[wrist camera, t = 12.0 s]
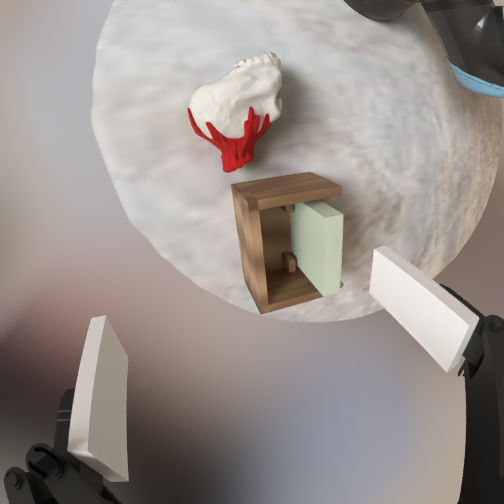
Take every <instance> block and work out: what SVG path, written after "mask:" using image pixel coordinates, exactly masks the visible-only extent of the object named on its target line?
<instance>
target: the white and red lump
mask: <svg viewBox="0 0 504 504" xmlns="http://www.w3.org/2000/svg"><path fill="white" fill-rule="evenodd" d="M280 64H281V62H280V60H279V59H278V58H277V57H276V55H275V53H272V52H269V54H263V55H262V54H260V55H259V56H254V57H253V59H252V58H248V59H247V60H246V61H245V60H242V61H240V62H236V64H235V66H234V67H235V68H234V69H233V71H232V72H231V73H230V74H229V75H228V76H226V77H225V78H223V79H221V80H219V81H216V82H214V83H210V84H206V85H203V86H201V87H200V88H199V89H198V90H197V91H196V92H195V94H194V95H193V96H192V98H191V101H190V109H189V108H187V109H188V114H189V118H190V122H191V125H192V127H193V129H194V131H195V133H196V134H197V135H199V136H201V137H203V138H204V139H206V140H208V141H209V142H211V143H212V144H213V145H215V146H216V147H217V148H219V149H220V150H221V152H222V156H221V158H222V162H223V171H224V172H228V173H229V172H232V171H235V170H236V169H237V168H241V167H242V166H243V165H244V164H245V163H249V162H251V161H252V159H253V149H254V145H255V143H256V141H257V140H258V139H259V138H260V137H261V136H262V135H263V134H264V133H265V132H266V131H267V129H268V128H269V126H270V125H271V123H272V121H274V120H276V119H278V118H279V116H280V115H281V111H282V99H281V98H276V96H277V94H278V91H279V90H280V88H281V87H282V72H281V71H280Z"/></svg>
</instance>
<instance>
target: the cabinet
mask: <svg viewBox="0 0 504 504" xmlns="http://www.w3.org/2000/svg"><path fill="white" fill-rule="evenodd" d="M231 187H232V194H233V202H234V209H235V216H236V223H237V230H238V238H239V245H240V252H241V259H242V266H243V273H244V279H245V283H246V285H247V287H248V289H249V291H250V293H251V295H252V297H253V299H254V301H255V303H256V305H257V308H258V310H259V312H260V314H265V313H268V312H272V311H276V310H279V309H283V308H286V307H290V306H293V305H297V304H300V303H304V302H307V301H311V300H314V299H317V298H321V297H323V296H322V294H321V293H320V292H319V291H318V290H317V288H316V287H315V286H314V285H313V284H312V282H311V281H310V280H309V279H308V278H307V276H306V275H305V274H304V273H303V272H302V270H301V269H300V268H299V267H298V266H297V264H296V263H295V259H294V258H293V256H292V250H291V231H290V214H289V212H293V204H295V203H301V202H306V201H312V200H318V199H319V200H321V201H323V199H324V198H330V197H336V196H341V186H339V185H337V184H335V183H333V182H331V181H328V180H326V179H324V178H322V177H319V176H317V175H315V174H313V173H310V172H307V173H300V174H293V175H286V176H279V177H273V178H266V179H260V180H254V181H248V182H243V183H237V184H231ZM342 286H343V283H342V282H341V281H340V288H341V287H342Z"/></svg>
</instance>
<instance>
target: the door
mask: <svg viewBox="0 0 504 504" xmlns="http://www.w3.org/2000/svg"><path fill="white" fill-rule="evenodd" d="M289 214H290V231H291V250H292V256H293V258H294V259H295V263H296V264H297V266H298V267H299V268H300V269H301V270H302V272H303V273H304V274H305V275H306V276H307V278H308V279H309V280H310V281H311V282H312V284H313V285H314V286H315V287H316V288H317V290H318V291H319V292H320V293H321V294H322V296H323V297H324V296H327V295H330V294H334V293H337V292H340V281H341V264H342V243H343V214H342V213H341V212H339V211H337V210H336V209H334V208H332V207H331V206H329V205H328V204H326V203H324V202H323V201H321V200H319V199H318V200H312V201H306V202H301V203H295V204H293V212H289Z"/></svg>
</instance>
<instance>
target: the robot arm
mask: <svg viewBox="0 0 504 504" xmlns="http://www.w3.org/2000/svg"><path fill="white" fill-rule="evenodd" d="M344 1H345V2H346V3H347V4H348V5H349V6H350V7H352V8H353V9H354V10H356V11H357V12H359V13H360V14H362V15H364V16H366V17H368V18H371V19H374V20H379V21H386V20H390V19H394V18H397V17H399V16H401V15H402V14H403V13H404V12H405V11H406V10H407V9H409V8H410V7H411V6H412V5H414V4H415V3H417V2H421V4H422V6H423V8H424V9H425V11H426V13H427V15H428V17H429V19H430V21H431V23H432V25H433V27H434V29H435V31H436V33H437V36H438V38H439V40H440V42H441V44H442V47H443V49H444V51H445V54H446V59H447V61H448V62H449V64H450V65H451V67H452V70H453V72H454V75H455V77H456V79H457V80H458V82H459V83H461V84H462V85H463V86H464V87H465V88H467V89H468V90H470V91H473V92H475V93H478V94H481V95H485V96H490V97H498V98H504V6H495V4H494V2H493V0H344ZM369 293H370V294H371V295H372V296H373V297H374V298H375V299H376V300H377V301H378V302H379V303H380V304H381V305H382V306H383V307H384V308H385V309H386V310H387V311H388V312H389V313H390V314H391V315H392V316H393V317H394V318H395V319H396V320H397V321H398V322H399V323H400V324H401V325H402V326H403V327H404V328H405V329H406V330H407V331H408V332H409V333H410V334H411V335H412V336H413V337H414V338H415V339H416V340H417V341H418V342H419V343H420V344H421V345H422V346H423V347H424V348H425V350H426V351H427V352H428V353H429V354H430V355H431V356H432V357H433V358H434V359H435V360H436V361H437V362H438V363H439V364H440V366H441V367H442V368H443V369H444V370H445V371H446V372H448V371H449V370H450V369H452V368H453V367H455V366H456V365H457V364H458V362H459V361H460V358H461V357H462V355H463V356H464V357H465V358H466V359H465V361H464V363H463V365H462V366H461V368H460V370H459V372H458V376H460V375H461V373H462V371H463V369H464V374H463V376H465V390H466V445H465V459H464V470H463V478H462V485H461V492H460V497H459V501H458V503H457V504H504V319H502V318H500V317H499V316H495V315H489V316H487V317H485V316H484V315H483V314H482V313H480V312H479V311H478V310H477V309H475V308H474V307H473V306H472V305H470V304H469V303H468V302H467V301H466V300H463V298H462V297H461V296H459V295H457V293H456V292H454V291H453V290H452V289H450V288H449V287H447V286H444V285H442V284H437V283H436V282H435V281H433V280H432V279H431V278H429V277H428V276H427V275H425V274H424V273H423V272H421V271H420V270H419V269H417V268H416V267H415V266H413V265H412V264H411V263H409V262H408V261H406V260H405V259H404V258H402V257H401V256H399V255H398V254H397V253H395V252H394V251H392V250H391V249H390V248H388V247H387V246H382V247H379V248H375V249H374V255H373V265H372V274H371V282H370V289H369ZM127 369H128V356H127V355H126V353H125V351H124V349H123V347H122V345H121V344H120V342H119V340H118V338H117V336H116V334H115V332H114V330H113V328H112V326H111V325H110V322H109V321H108V318H107V316H106V315H105V316H100V317H96V318H92V319H91V322H90V326H89V329H88V333H87V338H86V341H85V346H84V350H83V354H82V359H81V364H80V368H79V373H78V378H77V384H76V388H74V389H67V390H66V391H65V393H64V395H63V397H62V398H61V401H60V407H59V413H58V418H57V419H58V422H57V425H56V432H55V439H54V448H53V449H52V448H51V447H50V446H48V445H46V444H44V443H38V444H35V445H33V446H32V447H31V448H30V449H29V451H28V453H27V455H26V466H27V469H28V470H29V471H30V472H25V471H24V470H22V469H21V468H18V467H11V468H10V469H8V470H7V472H6V474H5V477H4V485H5V489H6V493H7V497H8V500H9V504H122V503H121V502H120V501H119V500H118V498H116V497H115V496H114V494H113V493H112V492H111V491H110V490H109V489H108V488H107V487H106V486H105V485H104V484H103V477H105V478H106V479H108V480H109V481H129V479H128V464H127V441H126V393H127Z"/></svg>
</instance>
